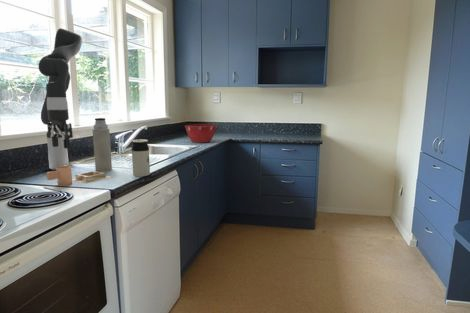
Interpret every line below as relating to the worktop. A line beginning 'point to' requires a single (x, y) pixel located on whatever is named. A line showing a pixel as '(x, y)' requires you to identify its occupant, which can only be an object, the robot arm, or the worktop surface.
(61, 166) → the tabbed peach cylinder
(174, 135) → the worktop surface
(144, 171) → the travel mug
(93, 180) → the dock
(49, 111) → the robot arm
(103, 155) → the thermos bottle
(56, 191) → the mat
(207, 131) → the mixing bowl
